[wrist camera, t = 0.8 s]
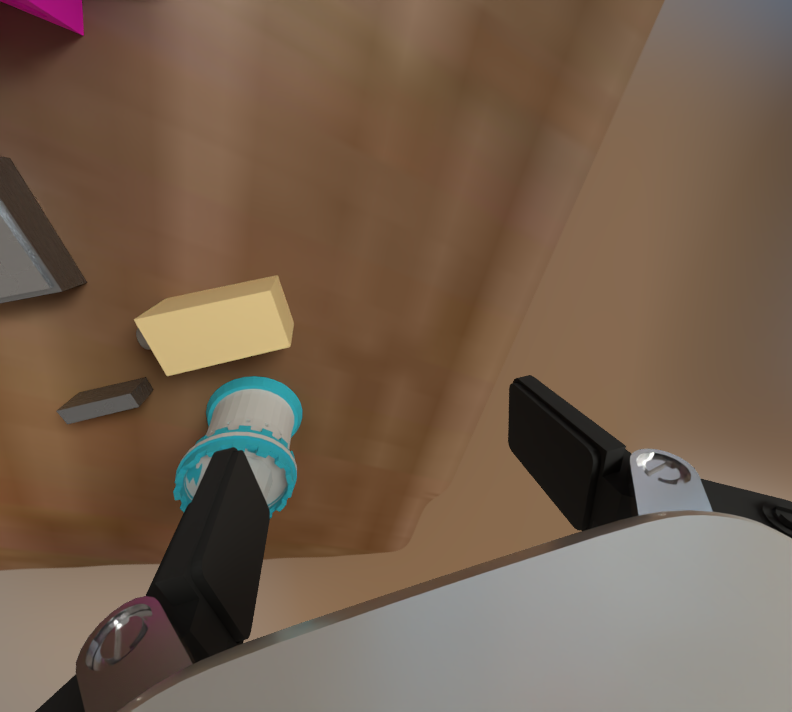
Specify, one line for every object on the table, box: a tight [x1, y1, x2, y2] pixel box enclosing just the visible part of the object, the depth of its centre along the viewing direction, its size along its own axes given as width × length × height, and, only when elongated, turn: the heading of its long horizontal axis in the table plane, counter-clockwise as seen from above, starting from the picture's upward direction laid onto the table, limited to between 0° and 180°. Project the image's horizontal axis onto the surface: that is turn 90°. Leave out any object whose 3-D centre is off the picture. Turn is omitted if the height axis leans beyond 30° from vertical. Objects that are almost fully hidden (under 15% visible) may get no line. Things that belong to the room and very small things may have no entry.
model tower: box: [173, 376, 302, 518], centre depth 22 cm, size 10×10×30 cm
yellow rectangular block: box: [134, 275, 294, 376], centre depth 28 cm, size 5×12×6 cm, turn 99°
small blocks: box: [0, 157, 153, 424], centre depth 25 cm, size 20×6×3 cm, turn 9°
